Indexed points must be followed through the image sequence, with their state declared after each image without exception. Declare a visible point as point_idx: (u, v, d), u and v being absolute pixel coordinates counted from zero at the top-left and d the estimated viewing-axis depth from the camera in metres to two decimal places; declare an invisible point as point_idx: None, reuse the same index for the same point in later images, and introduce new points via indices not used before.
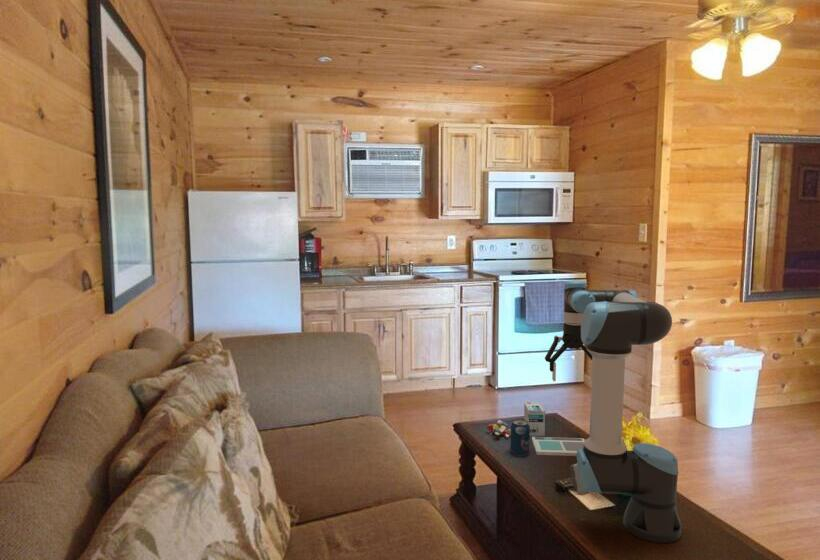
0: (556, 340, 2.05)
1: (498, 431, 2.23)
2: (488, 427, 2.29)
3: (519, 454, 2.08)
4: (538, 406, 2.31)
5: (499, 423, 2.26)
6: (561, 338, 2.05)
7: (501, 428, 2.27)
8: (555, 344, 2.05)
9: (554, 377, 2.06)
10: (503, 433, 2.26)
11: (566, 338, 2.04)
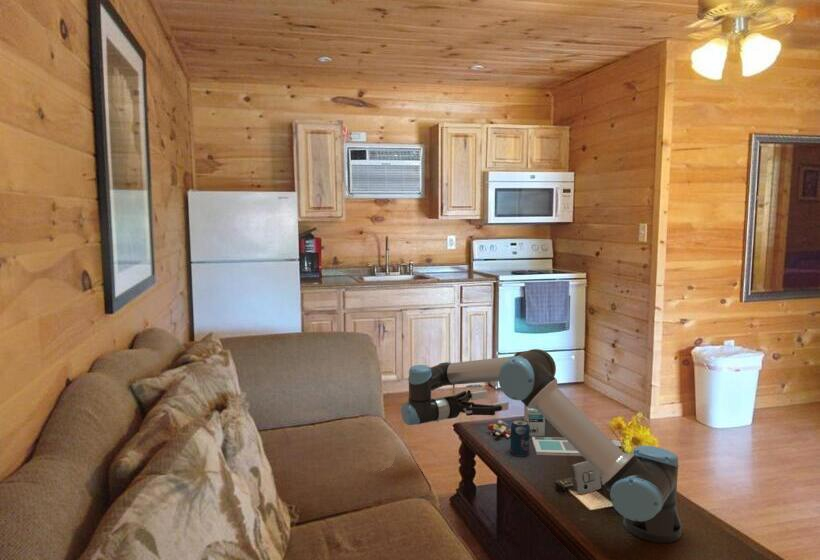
0: (470, 408, 1.92)
1: (498, 431, 2.23)
2: (488, 427, 2.28)
3: (519, 454, 2.08)
4: None
5: (499, 423, 2.26)
6: (465, 408, 1.93)
7: (501, 428, 2.27)
8: (474, 407, 1.92)
9: (504, 402, 1.97)
10: (503, 433, 2.26)
11: (462, 405, 1.95)
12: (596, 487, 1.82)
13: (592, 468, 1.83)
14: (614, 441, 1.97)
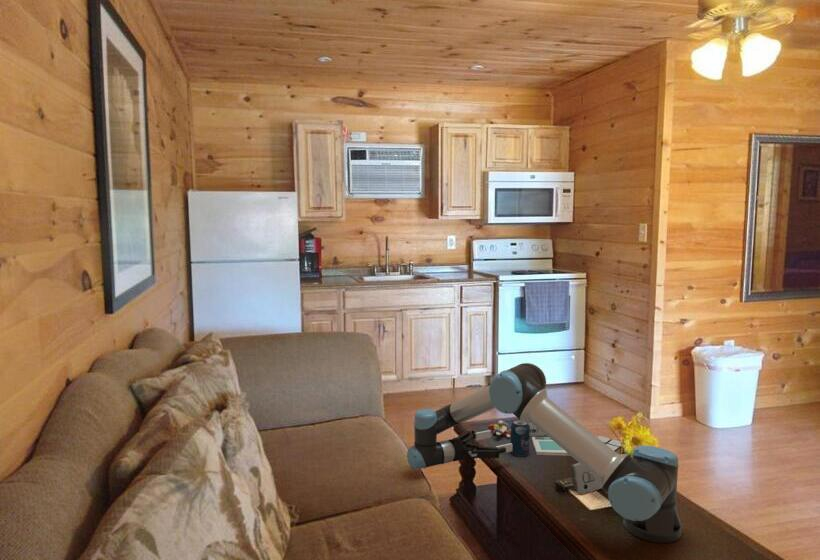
0: (474, 451, 1.95)
1: (499, 431, 2.23)
2: (489, 427, 2.28)
3: (519, 454, 2.08)
4: None
5: (500, 423, 2.26)
6: (470, 451, 1.96)
7: (502, 428, 2.27)
8: (479, 450, 1.95)
9: (508, 444, 2.00)
10: (504, 433, 2.26)
11: (467, 448, 1.98)
12: (596, 487, 1.82)
13: None
14: (614, 441, 1.97)
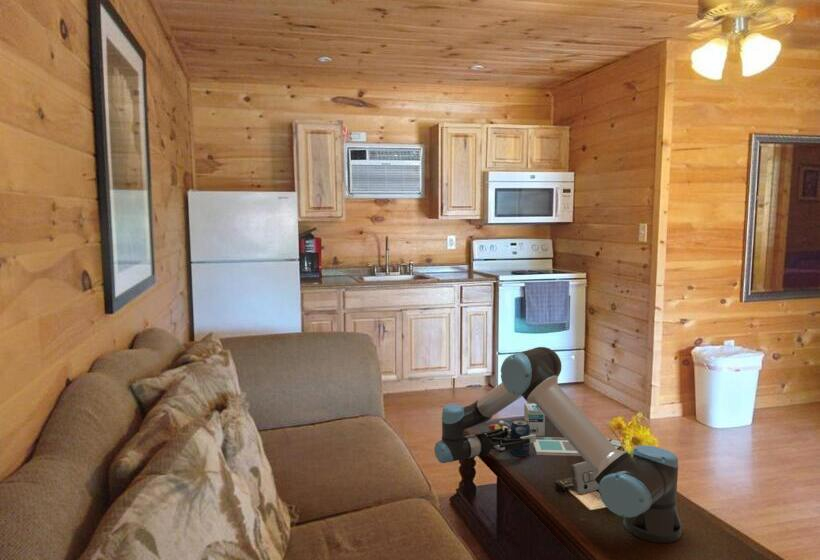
0: (503, 444, 2.00)
1: None
2: (490, 427, 2.28)
3: (519, 454, 2.08)
4: None
5: (501, 423, 2.26)
6: (497, 445, 2.01)
7: (503, 428, 2.27)
8: (506, 443, 2.00)
9: (532, 435, 2.08)
10: None
11: (493, 442, 2.02)
12: (596, 487, 1.82)
13: None
14: (614, 441, 1.97)
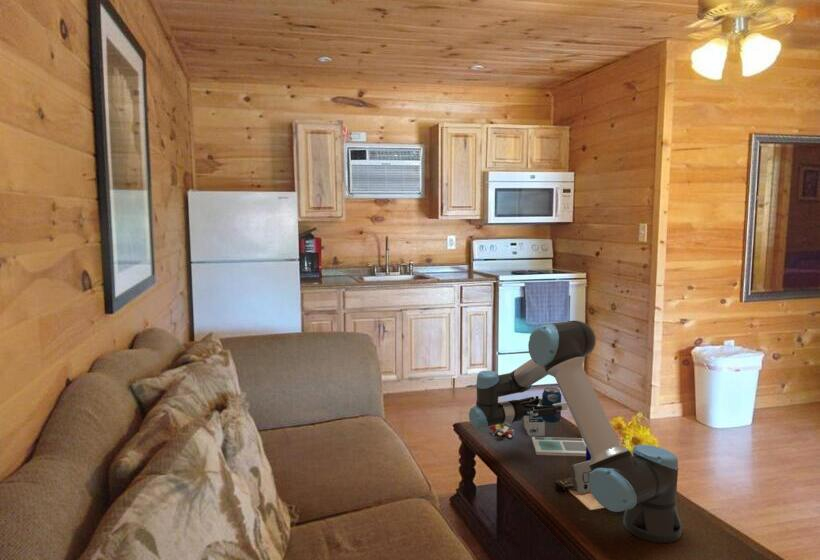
0: (536, 410, 2.02)
1: (501, 431, 2.22)
2: (491, 427, 2.28)
3: (550, 421, 2.10)
4: None
5: None
6: (530, 411, 2.03)
7: (504, 428, 2.26)
8: (539, 409, 2.03)
9: (564, 402, 2.10)
10: (506, 433, 2.25)
11: (526, 409, 2.04)
12: None
13: None
14: None
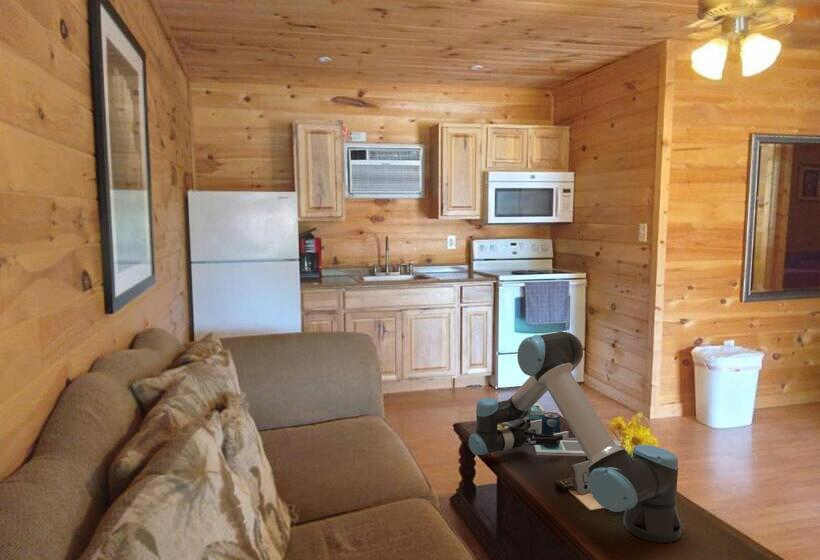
0: (533, 438, 2.03)
1: None
2: None
3: (550, 446, 2.11)
4: (538, 406, 2.31)
5: (503, 423, 2.26)
6: (529, 438, 2.04)
7: None
8: (537, 437, 2.03)
9: (564, 432, 2.08)
10: None
11: (526, 435, 2.05)
12: None
13: None
14: (614, 441, 1.97)
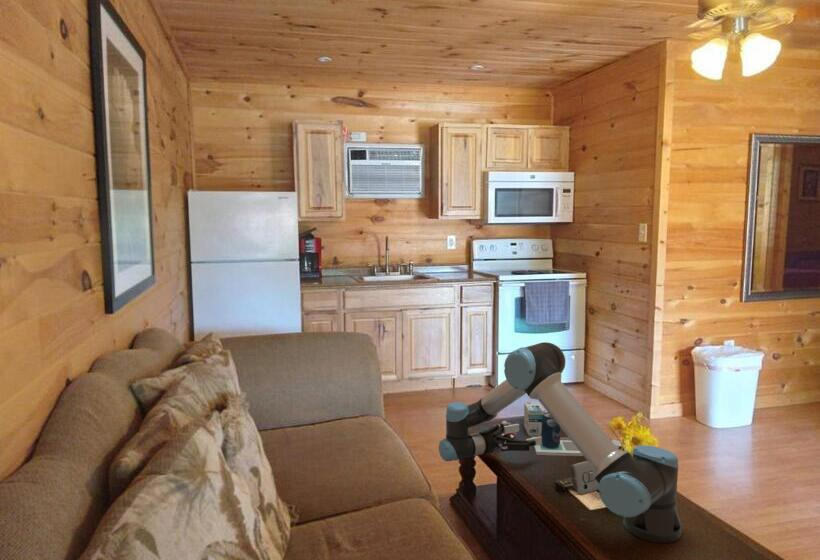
0: (505, 443, 1.98)
1: (503, 432, 2.22)
2: None
3: (550, 446, 2.11)
4: (538, 406, 2.31)
5: (504, 424, 2.25)
6: (500, 444, 1.99)
7: None
8: (509, 443, 1.98)
9: (538, 437, 2.03)
10: (508, 434, 2.25)
11: (497, 440, 2.01)
12: (596, 487, 1.82)
13: (592, 468, 1.83)
14: (614, 441, 1.97)
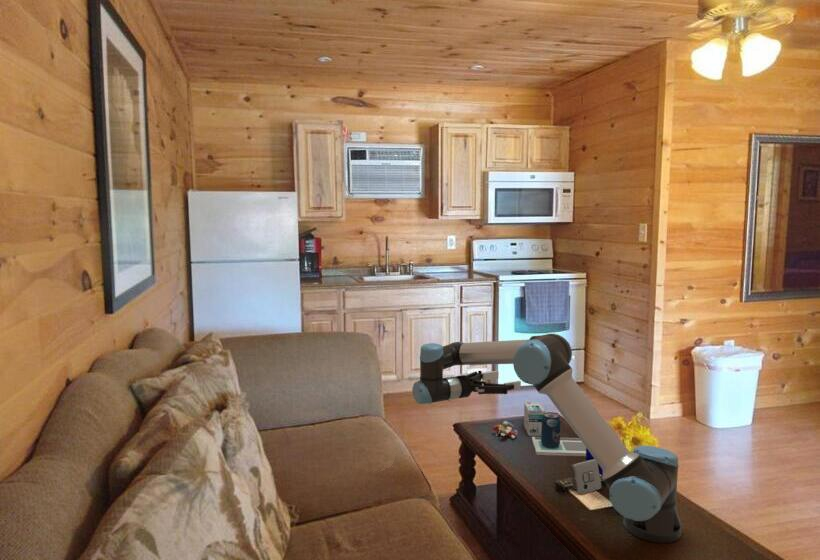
0: (482, 386, 1.89)
1: (504, 432, 2.22)
2: (494, 428, 2.28)
3: (550, 446, 2.11)
4: (538, 406, 2.31)
5: (505, 424, 2.25)
6: (477, 387, 1.91)
7: (507, 429, 2.26)
8: (486, 386, 1.90)
9: (516, 381, 1.95)
10: (509, 434, 2.25)
11: (474, 384, 1.92)
12: (596, 487, 1.82)
13: (592, 468, 1.83)
14: None
